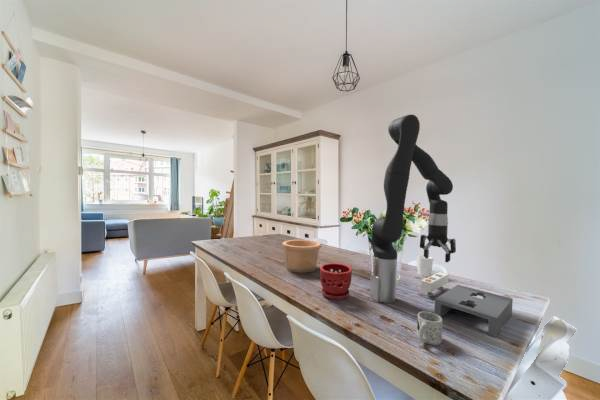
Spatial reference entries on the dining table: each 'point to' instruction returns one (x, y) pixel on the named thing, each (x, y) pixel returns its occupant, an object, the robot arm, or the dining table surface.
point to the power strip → (434, 283)
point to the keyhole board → (477, 306)
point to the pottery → (301, 255)
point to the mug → (429, 328)
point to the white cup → (424, 266)
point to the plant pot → (335, 280)
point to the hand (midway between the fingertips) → (436, 260)
